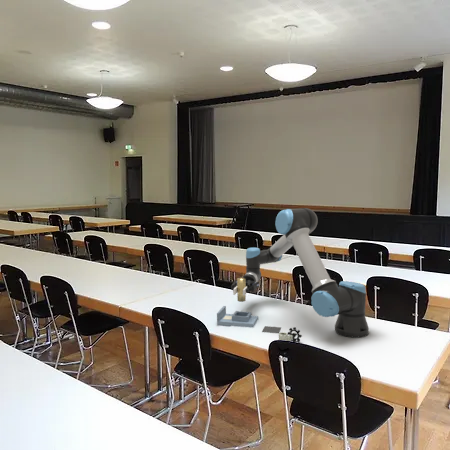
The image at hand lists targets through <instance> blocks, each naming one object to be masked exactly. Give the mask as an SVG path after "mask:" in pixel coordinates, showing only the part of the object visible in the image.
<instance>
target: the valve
mask: <svg viewBox="0 0 450 450" xmlns="http://www.w3.org/2000/svg"><path fill="white" fill-rule="evenodd" d="M300 332H301V330H300V329H298V330H297V326H296V327H295V326H294V327H293V328H292V327H290V328H289V329H288V332H285V331H284V332H283V331H282V332H281V331H280V332H279V333H278V340H286V341H290V342H291V340H292V341H293V342H300V341H301V339H300V338H302V337H303V335H302V334H300ZM278 340H277V341H278Z"/></svg>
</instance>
